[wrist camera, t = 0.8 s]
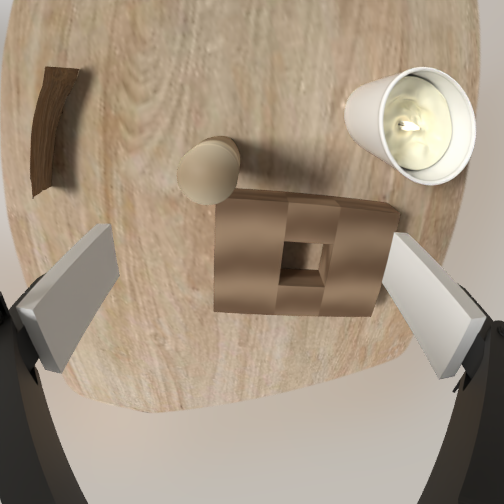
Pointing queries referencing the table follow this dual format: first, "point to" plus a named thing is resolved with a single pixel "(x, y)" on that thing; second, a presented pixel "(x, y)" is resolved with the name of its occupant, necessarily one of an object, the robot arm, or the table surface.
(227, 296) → the wooden block with hole
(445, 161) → the candle holder
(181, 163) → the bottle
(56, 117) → the wood plank
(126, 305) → the table surface
